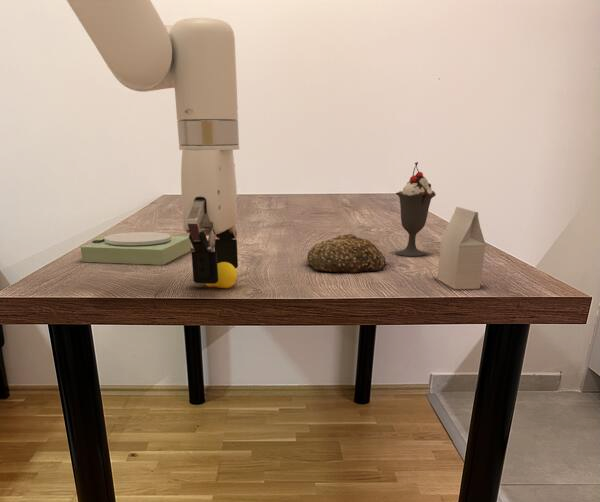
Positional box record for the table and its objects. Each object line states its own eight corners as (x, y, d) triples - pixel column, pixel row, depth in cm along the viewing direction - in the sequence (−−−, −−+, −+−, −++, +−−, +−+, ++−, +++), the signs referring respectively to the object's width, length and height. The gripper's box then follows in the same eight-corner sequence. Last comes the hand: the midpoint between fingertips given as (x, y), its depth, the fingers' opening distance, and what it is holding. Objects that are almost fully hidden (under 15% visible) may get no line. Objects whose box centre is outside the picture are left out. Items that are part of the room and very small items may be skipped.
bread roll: (305, 273, 97) (306, 239, 94) (307, 258, 108) (307, 227, 106) (390, 274, 96) (392, 240, 94) (383, 259, 107) (385, 228, 105)
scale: (82, 261, 104) (79, 241, 103) (118, 247, 117) (116, 229, 115) (163, 265, 102) (161, 244, 101) (191, 250, 114) (190, 231, 113)
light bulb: (240, 288, 87) (232, 266, 84) (199, 300, 87) (189, 278, 85) (240, 276, 89) (232, 254, 87) (200, 288, 90) (190, 266, 87)
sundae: (401, 258, 108) (408, 162, 102) (386, 251, 114) (391, 160, 108) (436, 256, 110) (445, 162, 103) (419, 250, 116) (427, 160, 109)
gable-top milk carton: (454, 289, 87) (462, 212, 83) (437, 279, 93) (444, 207, 89) (479, 288, 88) (489, 212, 83) (460, 278, 94) (469, 206, 89)
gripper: (201, 136, 88) (209, 262, 95) (154, 138, 72) (168, 288, 80) (254, 136, 87) (258, 264, 94) (217, 137, 71) (226, 290, 79)
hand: (217, 275), depth 87 cm, fingers open, 9 cm apart
